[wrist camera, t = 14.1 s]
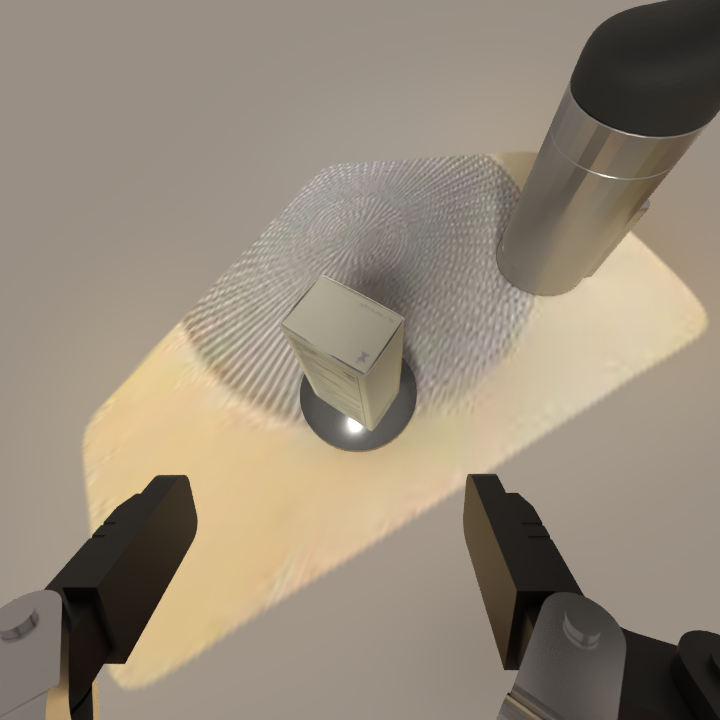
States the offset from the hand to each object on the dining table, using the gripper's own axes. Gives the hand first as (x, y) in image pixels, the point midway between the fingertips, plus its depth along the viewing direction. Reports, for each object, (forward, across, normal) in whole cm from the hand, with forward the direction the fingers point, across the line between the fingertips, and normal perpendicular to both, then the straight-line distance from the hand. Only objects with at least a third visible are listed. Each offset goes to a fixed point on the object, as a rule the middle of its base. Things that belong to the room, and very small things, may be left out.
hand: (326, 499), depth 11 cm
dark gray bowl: (+23, 0, +8) cm, 24 cm away
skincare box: (+21, 0, +6) cm, 22 cm away
